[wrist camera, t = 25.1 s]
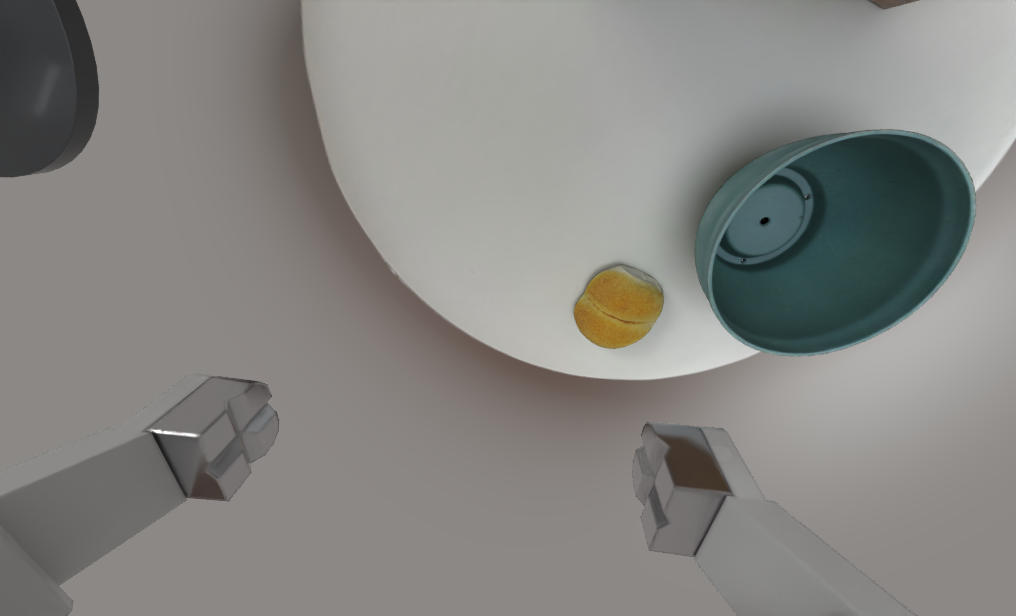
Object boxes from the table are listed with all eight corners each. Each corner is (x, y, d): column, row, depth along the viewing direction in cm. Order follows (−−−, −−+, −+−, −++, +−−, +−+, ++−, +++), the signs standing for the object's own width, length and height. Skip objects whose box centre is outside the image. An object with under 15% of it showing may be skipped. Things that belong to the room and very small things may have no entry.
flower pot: (898, 144, 32) (1048, 163, 23) (792, 310, 40) (870, 375, 30) (711, 101, 32) (783, 101, 22) (640, 277, 39) (671, 333, 30)
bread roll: (562, 322, 43) (564, 342, 39) (603, 253, 39) (609, 268, 35) (628, 350, 44) (635, 371, 40) (674, 285, 40) (687, 302, 36)
